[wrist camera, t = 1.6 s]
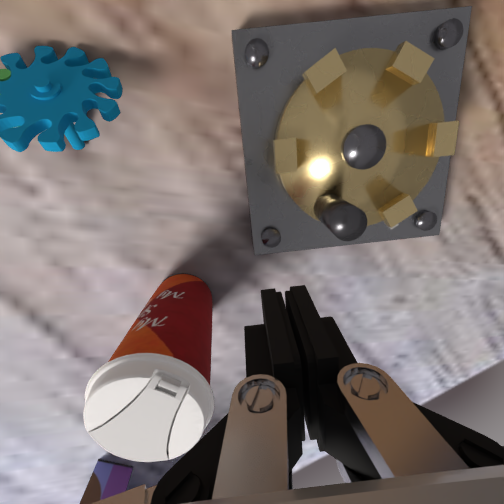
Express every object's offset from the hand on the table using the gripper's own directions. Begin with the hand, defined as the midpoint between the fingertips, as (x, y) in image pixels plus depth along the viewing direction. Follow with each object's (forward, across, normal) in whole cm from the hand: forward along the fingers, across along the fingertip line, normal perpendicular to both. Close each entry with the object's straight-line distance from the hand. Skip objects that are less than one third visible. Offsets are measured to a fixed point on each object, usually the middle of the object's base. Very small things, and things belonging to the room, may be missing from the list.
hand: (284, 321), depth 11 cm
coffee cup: (+19, +8, +9) cm, 23 cm away
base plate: (+19, -8, -5) cm, 21 cm away
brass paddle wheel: (+16, -9, -5) cm, 19 cm away
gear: (+19, +15, -11) cm, 26 cm away
